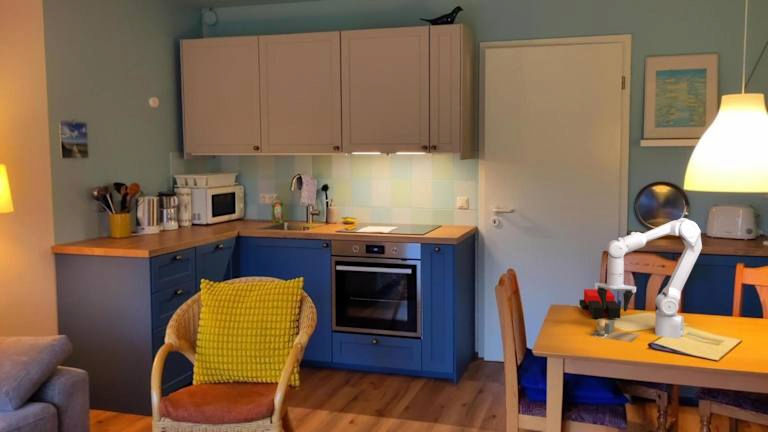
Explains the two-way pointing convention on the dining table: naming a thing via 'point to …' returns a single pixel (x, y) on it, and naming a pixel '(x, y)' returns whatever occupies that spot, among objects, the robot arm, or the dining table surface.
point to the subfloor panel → (619, 336)
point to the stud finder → (609, 326)
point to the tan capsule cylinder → (601, 327)
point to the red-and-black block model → (599, 304)
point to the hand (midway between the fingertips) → (614, 309)
